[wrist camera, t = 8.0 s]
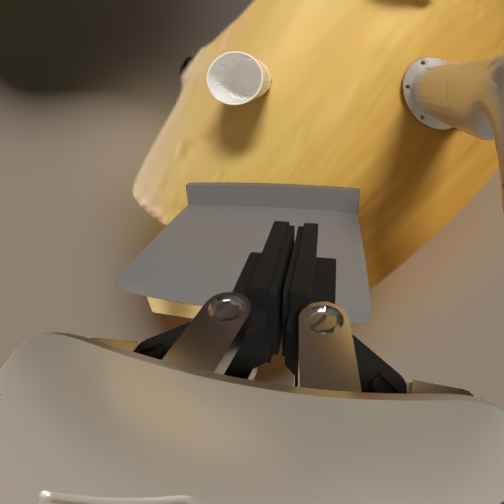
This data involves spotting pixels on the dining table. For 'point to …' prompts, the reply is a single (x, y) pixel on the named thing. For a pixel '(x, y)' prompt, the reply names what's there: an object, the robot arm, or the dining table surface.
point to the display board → (249, 241)
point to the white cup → (238, 78)
